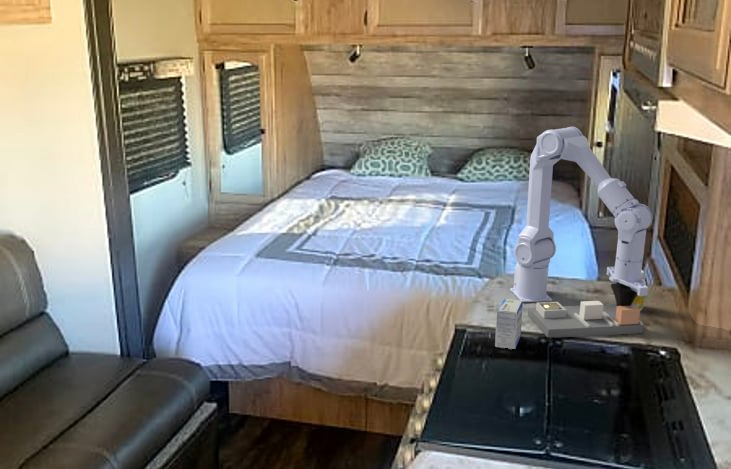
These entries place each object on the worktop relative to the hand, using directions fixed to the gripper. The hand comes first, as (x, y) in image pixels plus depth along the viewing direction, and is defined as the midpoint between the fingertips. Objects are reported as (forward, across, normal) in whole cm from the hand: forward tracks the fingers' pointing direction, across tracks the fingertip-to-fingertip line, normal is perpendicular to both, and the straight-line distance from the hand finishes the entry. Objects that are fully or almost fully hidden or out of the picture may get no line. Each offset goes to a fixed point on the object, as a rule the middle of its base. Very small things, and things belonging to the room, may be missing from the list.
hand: (622, 314), depth 170 cm
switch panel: (+3, -3, -8) cm, 9 cm away
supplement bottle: (+3, -11, +9) cm, 14 cm away
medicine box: (+3, +3, -29) cm, 29 cm away
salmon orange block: (+1, +2, 0) cm, 2 cm away
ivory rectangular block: (+1, -2, -7) cm, 7 cm away
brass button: (+1, -6, -15) cm, 16 cm away
